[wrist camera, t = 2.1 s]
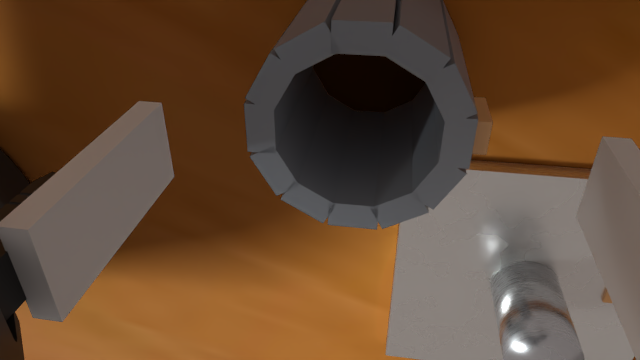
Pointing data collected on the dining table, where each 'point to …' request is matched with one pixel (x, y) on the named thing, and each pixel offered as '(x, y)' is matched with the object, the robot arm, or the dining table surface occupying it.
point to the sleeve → (365, 115)
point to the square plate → (503, 273)
